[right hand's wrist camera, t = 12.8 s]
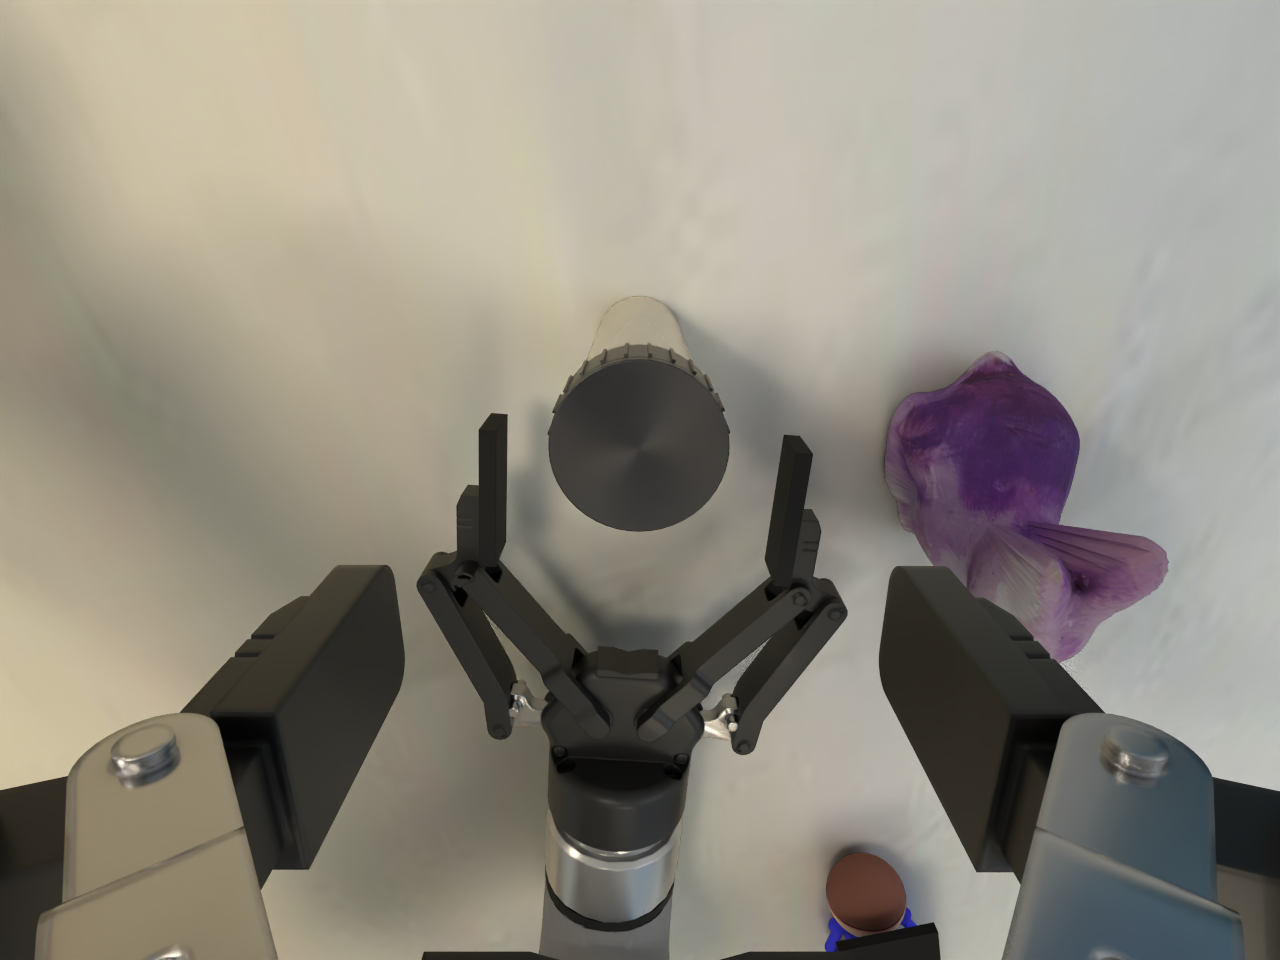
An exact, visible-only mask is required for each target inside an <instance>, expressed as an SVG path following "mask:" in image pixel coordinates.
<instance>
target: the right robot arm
mask: <svg viewBox="0 0 1280 960" xmlns="http://www.w3.org/2000/svg"><path fill="white" fill-rule="evenodd" d="M404 665H405V653H404V644H403V637H402V629H401V622H400V615H399V607H398V600H397V593H396V585H395V579H394V575H393V572H392V570H391V568H390V567H389V566H387V565H338V566H336V567H335V568H334V569H333V570H332V571H331V572H330V574H329V575H328V576H327V577H326V578H325V579H324V580H323V582H322V583H321V584H320V585H319V586H318V587H317V589H316V590H315V591H314V592H313V593H312V594H311V595H310V596H301V597H299V598H297V599H296V600H294V601H292V602H291V603H289V604H287V605H285V606H284V607H282V608H280V609H279V610H277V611H275V612H274V613H272V614H270V616H269V617H268V618H267V619H266V620H265V621H264V622H263V623H262V624H261V625H260V626H259V627H258V629H257V630H256V631H255V632H254V633H253V634H252V635H251V639H247V640H246V641H245V643H244V644H243V645H242V646H241V647H240V648H239V649H238V650H237V651H236V652H235V657H231V658H230V659H229V660H228V661H227V662H226V663H225V664H224V665H223V666H222V667H221V668H220V670H219V671H218V672H217V673H216V674H215V675H214V676H213V677H212V678H211V679H210V680H209V681H208V683H207V684H206V685H205V686H204V687H203V688H202V689H201V690H200V691H199V692H198V693H197V694H196V695H195V697H194V698H193V699H192V700H191V701H190V702H189V703H188V704H187V705H186V706H185V707H184V708H183V710H182V711H181V712H180V713H174V714H166V715H162V716H157V717H153V718H149V719H146V720H143V721H140V722H137V723H134V724H132V725H129V726H127V727H125V728H123V729H120V730H118V731H116V732H115V733H113V734H111V735H109V736H107V737H106V738H104V739H103V740H101V741H100V742H98V743H97V744H95V745H94V746H93V747H91V748H90V749H89V750H88V751H86V752H85V753H84V754H83V755H82V756H81V757H80V758H79V759H78V761H77V762H76V763H75V765H74V766H73V767H72V769H71V771H70V773H69V775H68V776H66V777H61V778H57V779H52V780H47V781H42V782H38V783H33V784H28V785H23V786H19V787H14V788H9V789H5V790H0V960H278V957H277V953H276V949H275V945H274V941H273V937H272V933H271V929H270V926H269V922H268V918H267V914H266V910H265V906H264V902H263V898H262V894H261V889H262V887H263V885H264V884H265V882H266V880H267V878H268V877H269V875H270V873H271V871H272V870H309V868H310V866H311V864H312V862H313V861H314V859H315V857H316V855H317V853H318V851H319V849H320V847H321V845H322V843H323V841H324V839H325V837H326V835H327V833H328V831H329V829H330V827H331V825H332V823H333V821H334V819H335V817H336V815H337V813H338V811H339V809H340V807H341V805H342V803H343V801H344V799H345V797H346V795H347V793H348V791H349V789H350V787H351V785H352V783H353V781H354V780H355V778H356V776H357V774H358V772H359V770H360V768H361V766H362V764H363V762H364V760H365V758H366V756H367V754H368V752H369V750H370V748H371V746H372V744H373V742H374V740H375V738H376V736H377V734H378V732H379V730H380V728H381V726H382V724H383V722H384V720H385V718H386V716H387V714H388V712H389V710H390V708H391V706H392V704H393V702H394V700H395V699H396V697H397V695H398V692H399V690H400V687H401V684H402V680H403V674H404ZM879 670H880V677H881V682H882V686H883V689H884V692H885V694H886V696H887V698H888V700H889V702H890V704H891V706H892V708H893V710H894V712H895V714H896V716H897V718H898V720H899V722H900V724H901V726H902V728H903V729H904V731H905V733H906V735H907V737H908V739H909V741H910V743H911V745H912V747H913V749H914V751H915V753H916V755H917V757H918V759H919V761H920V763H921V765H922V767H923V769H924V770H925V772H926V774H927V776H928V778H929V780H930V782H931V784H932V786H933V788H934V790H935V792H936V794H937V796H938V798H939V800H940V802H941V804H942V806H943V808H944V809H945V811H946V813H947V815H948V817H949V819H950V821H951V823H952V825H953V827H954V829H955V831H956V833H957V835H958V837H959V839H960V841H961V843H962V845H963V847H964V848H965V850H966V852H967V854H968V856H969V858H970V860H971V862H972V864H973V866H974V868H975V870H976V872H1014V874H1015V876H1016V877H1017V879H1018V881H1019V883H1020V884H1021V886H1020V890H1019V894H1018V898H1017V902H1016V906H1015V910H1014V914H1013V918H1012V922H1011V926H1010V929H1009V933H1008V937H1007V941H1006V945H1005V949H1004V953H1003V957H1002V960H1280V791H1275V790H1271V789H1266V788H1261V787H1256V786H1252V785H1247V784H1242V783H1238V782H1233V781H1228V780H1223V779H1219V778H1215V777H1212V775H1211V773H1210V771H1209V769H1208V767H1207V766H1206V765H1205V763H1204V762H1203V761H1202V759H1201V758H1200V757H1199V756H1198V755H1197V754H1196V753H1195V752H1194V751H1192V750H1191V749H1190V748H1189V747H1187V746H1186V745H1185V744H1183V743H1182V742H1180V741H1179V740H1177V739H1176V738H1174V737H1173V736H1171V735H1169V734H1167V733H1165V732H1164V731H1162V730H1160V729H1157V728H1155V727H1153V726H1151V725H1148V724H1146V723H1143V722H1140V721H1137V720H1134V719H1131V718H1127V717H1123V716H1118V715H1114V714H1106V713H1105V712H1104V711H1103V710H1102V709H1101V708H1100V707H1099V706H1098V705H1097V704H1096V703H1095V702H1094V701H1093V700H1092V699H1091V697H1090V696H1089V695H1088V694H1087V693H1086V692H1085V691H1084V690H1083V689H1082V688H1081V687H1080V686H1079V685H1078V684H1077V682H1076V681H1075V680H1074V679H1073V678H1072V677H1071V676H1070V675H1069V674H1068V673H1067V672H1066V671H1065V670H1064V669H1063V667H1062V666H1061V665H1060V664H1059V663H1058V662H1057V661H1056V660H1055V659H1051V658H1050V654H1049V653H1048V651H1047V650H1046V649H1045V648H1044V647H1043V646H1042V645H1041V644H1040V643H1039V642H1038V641H1034V636H1033V635H1032V634H1031V633H1030V632H1029V631H1028V630H1027V629H1026V628H1025V627H1024V626H1023V625H1022V624H1021V623H1020V621H1019V620H1018V619H1017V618H1016V617H1015V616H1014V615H1012V614H1010V613H1009V612H1007V611H1005V610H1004V609H1002V608H1000V607H999V606H997V605H995V604H994V603H992V602H990V601H989V600H987V599H985V598H975V597H974V596H973V595H972V594H971V593H970V591H969V590H968V589H967V588H966V587H965V586H964V585H963V583H962V582H961V581H960V580H959V579H958V578H957V577H956V575H955V574H954V573H953V572H952V571H951V570H950V569H949V568H948V567H946V566H897V567H895V568H894V569H893V571H892V573H891V576H890V579H889V585H888V593H887V600H886V607H885V614H884V622H883V629H882V636H881V643H880V651H879ZM422 960H559V959H555V958H551V957H548V956H544V955H540V954H537V953H533V952H424V953H423V957H422ZM721 960H858V957H857V953H856V952H747V953H743V954H740V955H736V956H732V957H729V958H725V959H721Z"/></svg>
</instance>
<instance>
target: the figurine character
mask: <svg viewBox="0 0 1280 960" xmlns="http://www.w3.org/2000/svg"><path fill="white" fill-rule="evenodd" d="M826 896H827V902H828V905H829V908H830V911H831V913H832V915H833V916H834V918H832V919H831V920H830V921H829V929H830V930H831V933H830V935H829V937H828V939H827V941H826V943H825V949H826V951H827V952H856V953H857V957H858V960H941V959H940V948H939V937H938V931H937V929H936V926H935V924H934V922H933V923H928V924H923V925H918V926H917V925H916V924H915V923H914V922H913V921H912V920H911V912H910V910H909V909H908V908H907V907H906V894H905V890H904V886H903V884H902V881H901V879H900V877H899V876H898V874H897V873H896V871H895V870H894V869H893V868H892V867H891V866H890V865H889V864H888V863H887V862H886V861H884V860H883V859H881V858H879V857H877V856H875V855H872V854H868V853H854V854H850V855H847V856H845V857H843V858H842V859H840V860H839V861H838V862H837V863H836V864H835V865H834V866H833V868H832V869H831V871H830V873H829V876H828V879H827V884H826ZM899 925H903V926H904V927H905V928H903V929H898V930H896V929H897V927H898V926H899ZM844 934H845V939H846V940H842V941H840V939H841V937H842V935H844ZM836 948H837V949H836Z"/></svg>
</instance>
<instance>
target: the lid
mask: <svg viewBox="0 0 1280 960" xmlns="http://www.w3.org/2000/svg"><path fill="white" fill-rule="evenodd" d="M563 392H564V394H563V395H561V394H560V396H559V398H558V400H557V402H556V404H555V407H554V409H553V412H552V413H555V414H554V417H553V420H552V423H551V426H550V428H549V431H548V435H549V458H550V463H551V467H552V470H553V473H554V476H555V478H556V481H557V483H558V484H559V486H560V488H561V490H562V491H563V493H564V494H565V495H566V497H567V498H568V499H569V500H570V502H571V503H572V504H573V505H574V506H575V507H576V508H577V509H579V510H580V511H581V512H583V513H584V514H585V515H586V516H588V517H590V518H592V519H593V520H595V521H597V522H599V523H601V524H604V525H606V526H609V527H612V528H616V529H620V530H626V531H639V532H640V531H652V530H658V529H663V528H666V527H669V526H672V525H674V524H677V523H679V522H681V521H683V520H685V519H686V518H688V517H690V516H691V515H693V514H694V513H695V512H697V511H698V510H699V509H700V508H702V507H703V506H704V505H705V503H706V502H707V501H708V500H709V499H710V498H711V497H712V495H713V494H714V493H715V491H716V490H717V488H718V486H719V484H720V482H721V481H722V478H723V476H724V473H725V470H726V466H727V462H728V457H729V434H730V429H729V427H728V425H727V422H726V420H725V418H724V415H723V412H724V411H725V409H724V407H723V405H722V402H721V400H720V398H719V395H718V393H714V389H713V387H712V384H711V382H710V380H709V377H708V376H707V374H705V375H703V374H702V373H701V371H700V370H699V369H698V368H697V367H696V366H695V365H694V363H693V360H692V359H689V360H687V359H686V358H684V357H683V356H681V355H679V354H677V353H675V352H674V349H673V348H670V349H669V350H668V349H665V348H662V347H658V346H653V345H652V344H651V343H650V342H648V345H643V344H634V345H629V343H625V346H620V347H616V348H613V349H610V350H607V349H606V348H605V349H603V352H602V353H601V354H599V355H597V356H595V357H594V358H592V359H591V360H590V361H588V360H585V361H584V363H583V365H582V367H581V368H580V369H579V370H578V371H577V373H576V374H575V375H574V376H570V377H569V379H568V381H567V383H566V386H565V388H564V390H563Z"/></svg>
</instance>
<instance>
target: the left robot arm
mask: <svg viewBox="0 0 1280 960" xmlns="http://www.w3.org/2000/svg"><path fill="white" fill-rule="evenodd" d="M507 416H508V414H495V413H491V414H490V415H489V417H488V418H487V419H486V421H485V422H484V424H483V425H482V426H481V428H480V429H479V486H478V485H467V487H466V489H465V490H464V492H463V493H462V495H461V497H460V499H459V501H458V504H457V551H455V552H452V553H446V552H438V553H436V554H434V555H433V556H432V558H431V560H430V561H429V563H428V564H427V566H426V568H425V569H424V571H423V573H422V574H421V576H420V578H419V579H418V581H417V589H418V591H419V593H420V595H421V597H422V598H423V600H424V602H425V603H426V605H427V607H428V608H429V610H430V612H431V614H432V615H433V617H434V619H435V620H436V622H437V624H438V626H439V627H440V629H441V631H442V632H443V634H444V636H445V638H446V639H447V641H448V643H449V644H450V646H451V648H452V649H453V651H454V653H455V655H456V656H457V658H458V660H459V661H460V663H461V665H462V667H463V668H464V670H465V672H466V673H467V675H468V677H469V678H470V680H471V682H472V684H473V685H474V687H475V689H476V690H477V692H478V694H479V696H480V697H481V699H482V701H483V702H484V707H485V714H486V722H487V729H488V732H489V734H490V735H491V736H492V737H493V738H495V739H500V740H501V739H506V738H507V737H509V736H510V734H511V731H512V727H527V726H542V727H543V729H544V731H545V732H546V734H547V736H548V738H549V742H550V750H549V775H548V809H547V822H546V853H545V860H546V864H545V876H546V881H545V894H544V907H543V921H542V932H541V941H540V949H539V954H540V955H544V956H548V957H551V958H555V959H559V960H669V929H670V916H671V905H672V893H673V887H674V881H675V875H676V870H677V864H678V856H679V848H680V840H681V832H682V822H683V812H684V807H685V799H686V792H687V784H688V776H689V768H690V760H691V753H692V750H693V748H694V746H695V745H696V743H697V742H698V741H699V740H700V739H701V737H709V738H715V739H722V740H728V741H731V744H732V748H733V751H734V752H736V753H737V754H740V755H746V754H749V753H751V752H752V751H753V750H754V748H755V746H756V743H757V740H758V737H759V733H760V730H761V727H762V724H763V721H764V720H765V718H766V717H767V716H768V715H769V713H770V712H771V711H772V710H773V708H774V707H775V706H776V705H777V703H778V702H779V701H780V700H781V698H782V697H783V696H784V695H785V694H786V692H787V691H788V690H789V689H790V687H791V686H792V685H793V684H794V682H795V681H796V680H797V679H798V677H799V676H800V675H801V674H802V672H803V671H804V670H805V669H806V667H807V666H808V665H809V664H810V662H811V661H812V660H813V659H814V658H815V656H816V655H817V654H818V653H819V651H820V650H821V649H822V648H823V646H824V645H825V644H826V643H827V641H828V640H829V639H830V638H831V636H832V635H833V634H834V633H835V631H836V630H837V629H838V628H839V626H840V625H841V624H842V623H843V622H844V620H845V619H846V617H847V612H848V611H847V609H846V607H845V605H844V603H843V601H842V599H841V597H840V595H839V593H838V591H837V589H836V588H835V586H834V584H833V582H832V581H831V580H829V579H826V578H821V579H818V578H816V577H814V576H813V574H814V569H815V563H816V558H817V550H818V547H819V541H820V536H821V529H820V525H819V521H818V519H817V518H816V516H815V514H814V512H813V511H812V509H804V504H805V498H806V492H807V486H808V481H809V475H810V469H811V463H812V457H813V453H812V452H811V451H810V449H809V448H808V447H807V445H806V444H805V442H804V441H803V440H802V438H801V437H800V436H795V435H784V437H783V443H782V450H781V456H780V463H779V469H778V476H777V482H776V489H775V495H774V502H773V508H772V515H771V521H770V528H769V534H768V541H767V547H766V554H765V562H766V565H767V567H768V570H769V573H770V577H769V578H768V579H767V580H766V581H764V582H763V583H762V584H761V585H760V586H758V587H757V588H756V589H755V590H754V591H753V592H751V593H750V594H749V595H748V596H747V597H745V598H744V599H743V600H742V601H741V602H740V603H738V604H737V605H736V606H735V607H734V608H732V609H731V610H730V611H729V612H728V613H727V614H725V615H724V616H723V617H722V618H721V619H719V620H718V621H717V622H716V623H715V624H714V625H712V626H711V627H710V628H709V629H708V630H706V631H705V632H704V633H703V634H702V635H701V636H699V637H698V638H697V639H696V640H695V641H693V642H689V641H688V642H686V643H684V644H683V645H682V646H681V647H679V648H678V649H677V650H676V651H675V652H673V653H672V654H671V655H670V656H669V657H668V658H665V657H663V656H661V655H658V650H648V649H641V650H635V651H624V650H621V649H617V648H614V647H602V646H598V651H594V652H591V653H589V654H588V653H587V652H586V651H585V650H584V649H583V647H582V646H581V645H580V644H579V643H578V642H577V641H576V639H575V638H574V637H573V636H572V635H571V634H569V633H568V634H565V633H564V632H563V631H562V630H561V629H560V628H559V627H558V625H557V624H556V623H555V622H554V621H553V620H552V619H551V618H550V616H549V615H548V614H547V613H546V612H545V611H544V610H543V608H542V607H541V606H540V605H539V604H538V603H537V602H536V601H535V599H534V598H533V597H532V596H531V595H530V594H529V593H528V591H527V590H526V589H525V588H524V587H523V586H522V585H521V584H520V582H519V581H518V580H517V579H516V578H515V577H514V576H513V575H512V573H511V572H510V571H509V570H508V569H507V568H506V567H505V565H504V564H503V563H502V562H501V561H500V560H499V558H500V555H501V553H502V550H503V548H504V546H505V543H506V503H507ZM482 610H483V611H484V612H485V613H486V614H487V615H488V617H489V618H490V619H491V620H492V621H493V622H494V623H495V624H496V625H497V626H498V627H499V629H500V630H501V631H502V632H503V633H504V634H505V635H506V636H507V637H508V638H509V639H510V640H511V642H512V643H513V644H514V645H515V646H516V647H517V648H518V649H519V650H520V651H521V652H522V654H523V655H524V656H525V657H526V658H527V659H528V660H529V661H530V662H531V663H532V664H533V666H534V667H535V668H536V669H537V670H538V671H539V672H540V674H541V676H542V679H543V682H544V684H545V686H546V687H547V688H548V690H549V692H548V694H547V695H546V697H545V699H538V698H535V697H534V696H533V695H532V694H531V692H530V690H529V688H528V687H527V686H526V682H525V681H524V680H517V679H516V674H515V671H514V668H513V665H512V663H511V661H510V659H509V657H508V655H507V654H506V652H505V650H504V648H503V646H502V645H501V643H500V641H499V639H498V638H497V636H496V634H495V632H494V630H493V629H492V627H491V625H490V623H489V621H488V620H487V618H486V616H485V614H484V612H483V611H482ZM770 637H771V638H770ZM769 638H770V640H769V641H768V642H767V643H766V645H765V646H764V647H763V649H762V650H761V651H760V653H759V654H758V655H757V656H756V658H755V659H754V660H753V662H752V663H751V664H750V666H749V667H748V668H747V669H746V671H745V672H744V673H743V675H742V676H741V677H740V679H739V680H738V682H737V684H736V686H735V688H734V691H733V693H732V694H730V693H726V694H724V695H723V696H722V700H721V701H720V702H719V703H718V705H717V706H716V707H715V708H713V709H711V710H703V708H702V705H701V703H700V702H701V701H702V700H703V699H704V698H706V697H707V695H708V694H709V692H710V690H711V688H712V686H713V684H714V683H715V682H716V681H718V680H719V679H720V678H721V677H723V676H724V675H725V674H726V673H728V672H729V671H730V670H731V669H732V668H734V667H735V666H736V665H737V664H739V663H740V662H741V661H742V660H743V659H745V658H746V657H747V656H748V655H750V654H751V653H752V652H753V651H754V650H756V649H757V648H758V647H759V646H761V645H762V644H763V643H764V642H765V641H767V640H768V639H769Z"/></svg>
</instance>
